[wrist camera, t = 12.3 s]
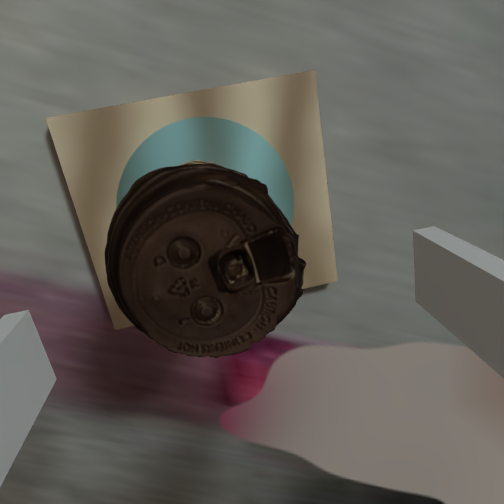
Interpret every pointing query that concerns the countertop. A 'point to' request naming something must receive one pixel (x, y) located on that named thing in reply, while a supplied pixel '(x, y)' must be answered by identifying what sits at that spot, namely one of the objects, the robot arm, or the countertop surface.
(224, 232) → the coffee cup
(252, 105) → the oak board
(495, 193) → the countertop surface
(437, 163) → the countertop surface
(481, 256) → the robot arm
